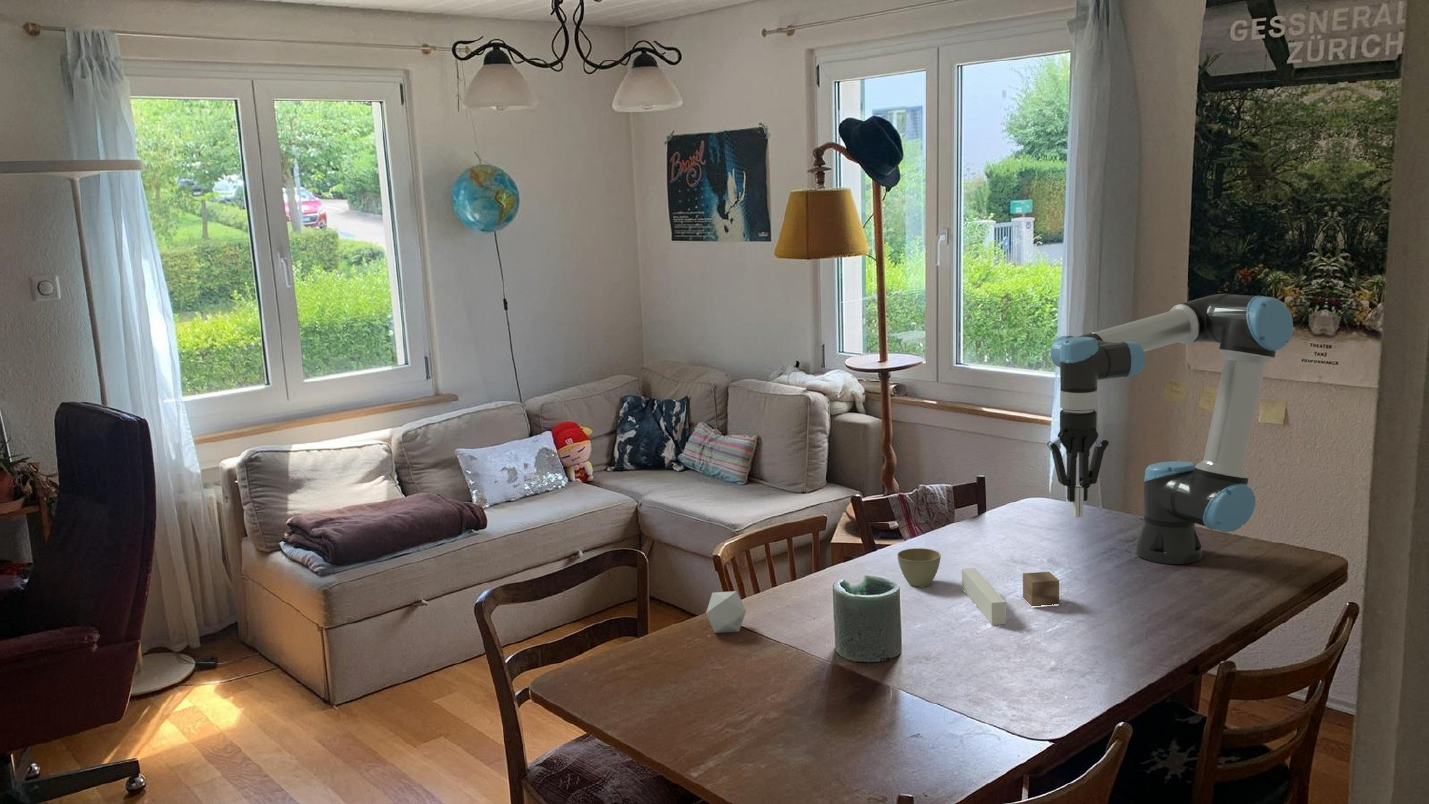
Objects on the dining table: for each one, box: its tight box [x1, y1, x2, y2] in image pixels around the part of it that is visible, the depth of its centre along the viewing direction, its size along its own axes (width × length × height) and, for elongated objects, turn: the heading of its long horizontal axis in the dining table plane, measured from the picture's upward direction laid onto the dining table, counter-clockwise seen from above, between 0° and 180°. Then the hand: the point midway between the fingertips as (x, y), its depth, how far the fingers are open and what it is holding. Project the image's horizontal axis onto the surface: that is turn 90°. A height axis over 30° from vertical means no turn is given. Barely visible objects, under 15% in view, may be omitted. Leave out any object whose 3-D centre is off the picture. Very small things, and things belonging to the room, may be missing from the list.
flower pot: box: [896, 547, 942, 588], centre depth 259 cm, size 10×10×7 cm
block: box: [1022, 571, 1060, 606], centre depth 243 cm, size 6×6×6 cm
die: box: [705, 590, 747, 634], centre depth 236 cm, size 8×9×10 cm
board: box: [961, 567, 1007, 626], centre depth 243 cm, size 3×22×5 cm, turn 4°
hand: (1077, 515), depth 241 cm, fingers closed
